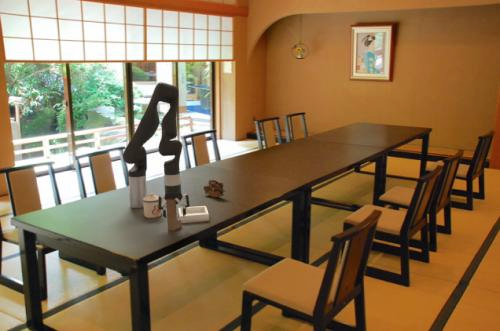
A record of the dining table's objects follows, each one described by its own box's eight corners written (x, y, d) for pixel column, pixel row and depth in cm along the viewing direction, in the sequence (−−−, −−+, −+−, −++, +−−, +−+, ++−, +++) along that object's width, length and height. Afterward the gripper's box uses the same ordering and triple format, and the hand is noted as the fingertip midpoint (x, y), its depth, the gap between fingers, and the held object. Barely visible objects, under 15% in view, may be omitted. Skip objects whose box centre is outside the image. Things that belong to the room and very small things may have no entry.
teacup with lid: (154, 219, 247) (152, 196, 245) (140, 216, 252) (138, 194, 249) (169, 212, 258) (167, 190, 255) (155, 210, 262) (153, 188, 259)
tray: (180, 223, 241) (179, 216, 240) (178, 214, 254) (178, 207, 253) (209, 220, 243) (208, 213, 242) (205, 212, 257) (205, 205, 256)
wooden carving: (201, 195, 287) (200, 179, 285) (206, 193, 291) (206, 177, 288) (223, 200, 277) (222, 183, 275) (228, 198, 281) (227, 181, 279)
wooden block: (173, 231, 230) (171, 200, 226) (167, 230, 231) (165, 199, 228) (181, 226, 235) (180, 196, 232) (175, 225, 237) (174, 195, 234)
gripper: (187, 180, 234) (189, 213, 237) (156, 182, 231) (159, 215, 234) (188, 183, 226) (190, 217, 230) (157, 186, 224) (159, 220, 227)
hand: (174, 216), depth 232 cm, fingers open, 8 cm apart
